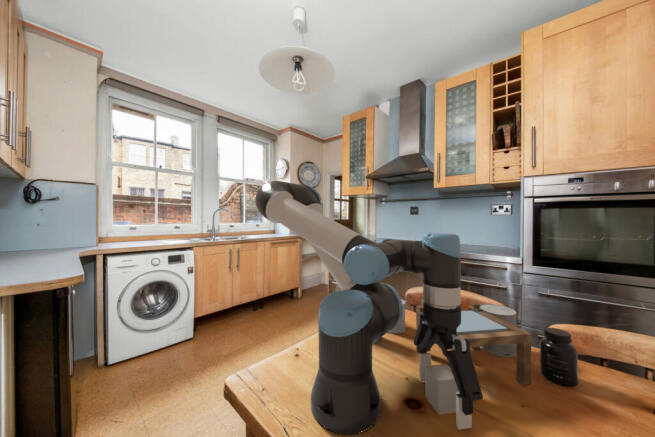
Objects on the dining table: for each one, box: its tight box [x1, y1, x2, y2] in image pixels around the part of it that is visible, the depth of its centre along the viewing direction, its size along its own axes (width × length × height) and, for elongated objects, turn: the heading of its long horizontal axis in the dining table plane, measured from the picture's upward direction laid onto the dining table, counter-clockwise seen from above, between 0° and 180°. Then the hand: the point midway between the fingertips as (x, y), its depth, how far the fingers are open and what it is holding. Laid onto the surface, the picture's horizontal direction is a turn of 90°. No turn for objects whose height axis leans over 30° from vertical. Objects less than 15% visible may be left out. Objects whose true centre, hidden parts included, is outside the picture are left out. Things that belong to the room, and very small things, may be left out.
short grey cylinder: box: [480, 303, 517, 358], centre depth 74 cm, size 10×10×12 cm
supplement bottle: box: [539, 327, 579, 389], centre depth 60 cm, size 7×7×12 cm
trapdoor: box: [420, 298, 507, 335], centre depth 70 cm, size 14×20×4 cm
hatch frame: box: [415, 301, 533, 387], centre depth 65 cm, size 20×18×14 cm
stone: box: [424, 363, 459, 415], centre depth 52 cm, size 5×5×7 cm
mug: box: [387, 299, 406, 335], centre depth 89 cm, size 11×10×10 cm
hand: (442, 400), depth 52 cm, fingers open, 13 cm apart
